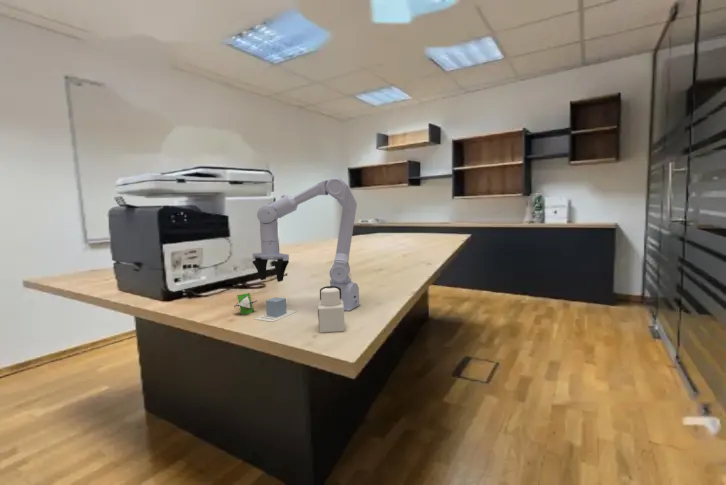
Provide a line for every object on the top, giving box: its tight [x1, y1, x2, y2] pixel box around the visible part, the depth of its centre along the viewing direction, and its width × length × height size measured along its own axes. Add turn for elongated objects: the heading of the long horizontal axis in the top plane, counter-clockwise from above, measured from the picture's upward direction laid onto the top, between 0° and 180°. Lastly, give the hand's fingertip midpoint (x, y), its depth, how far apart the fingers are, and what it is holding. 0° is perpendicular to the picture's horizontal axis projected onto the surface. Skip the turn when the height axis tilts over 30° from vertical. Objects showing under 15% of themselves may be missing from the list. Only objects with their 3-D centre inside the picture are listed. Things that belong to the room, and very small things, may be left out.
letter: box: [253, 309, 298, 323], centre depth 120 cm, size 8×12×1 cm, turn 152°
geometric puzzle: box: [233, 292, 258, 316], centre depth 123 cm, size 7×7×8 cm
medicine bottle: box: [317, 285, 346, 334], centre depth 105 cm, size 7×7×12 cm
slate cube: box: [265, 297, 288, 317], centre depth 120 cm, size 4×4×5 cm
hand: (271, 280), depth 127 cm, fingers open, 7 cm apart
